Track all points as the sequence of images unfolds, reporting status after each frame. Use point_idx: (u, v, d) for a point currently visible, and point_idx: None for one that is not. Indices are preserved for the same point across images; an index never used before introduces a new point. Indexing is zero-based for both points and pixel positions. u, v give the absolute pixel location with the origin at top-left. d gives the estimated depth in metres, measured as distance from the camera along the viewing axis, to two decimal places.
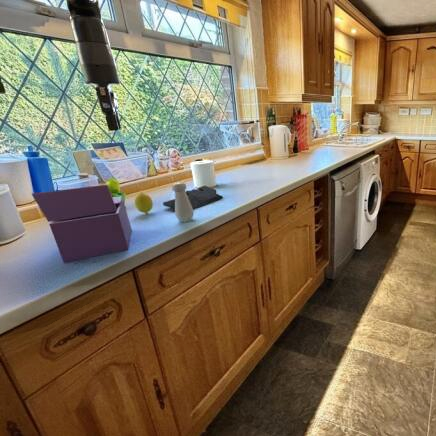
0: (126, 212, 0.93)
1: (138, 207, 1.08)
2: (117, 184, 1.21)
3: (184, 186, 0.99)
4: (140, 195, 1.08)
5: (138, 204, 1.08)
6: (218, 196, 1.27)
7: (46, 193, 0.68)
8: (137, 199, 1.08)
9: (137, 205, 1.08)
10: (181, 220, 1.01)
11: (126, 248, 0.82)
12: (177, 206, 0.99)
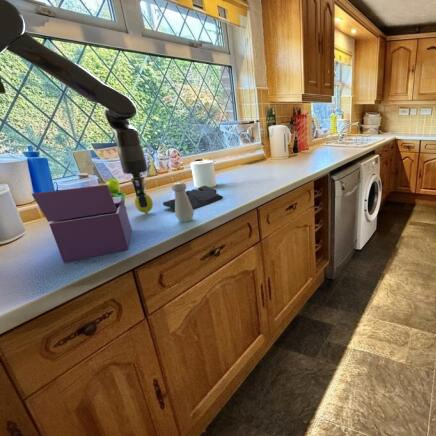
0: (126, 212, 0.93)
1: (138, 207, 1.08)
2: (117, 184, 1.21)
3: (184, 186, 0.99)
4: None
5: (138, 204, 1.08)
6: (218, 196, 1.27)
7: (46, 193, 0.68)
8: (137, 199, 1.08)
9: (137, 205, 1.08)
10: (181, 220, 1.01)
11: (126, 248, 0.82)
12: (177, 206, 0.99)
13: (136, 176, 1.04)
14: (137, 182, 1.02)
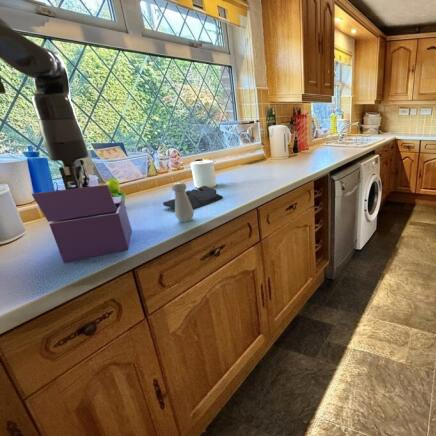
0: (126, 212, 0.93)
1: None
2: (117, 184, 1.21)
3: (184, 186, 0.99)
4: None
5: None
6: (218, 196, 1.27)
7: (46, 193, 0.68)
8: None
9: None
10: (181, 220, 1.01)
11: (126, 248, 0.82)
12: (177, 206, 0.99)
13: (68, 164, 0.72)
14: (66, 169, 0.69)
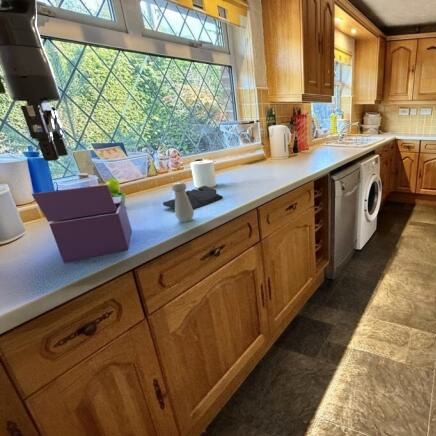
0: (126, 212, 0.93)
1: None
2: (117, 184, 1.21)
3: (184, 186, 0.99)
4: None
5: None
6: (218, 196, 1.27)
7: (46, 193, 0.68)
8: None
9: None
10: (181, 220, 1.01)
11: (126, 248, 0.82)
12: (177, 206, 0.99)
13: (34, 105, 0.58)
14: (30, 108, 0.56)
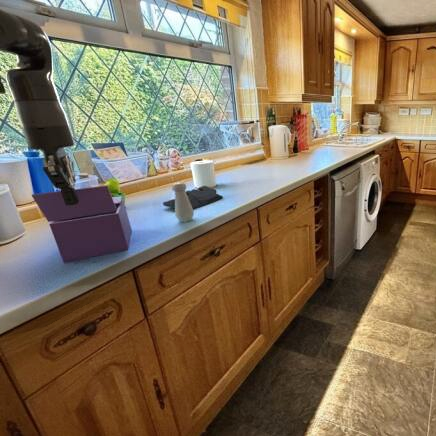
0: (126, 212, 0.93)
1: None
2: (117, 184, 1.21)
3: (184, 186, 0.99)
4: None
5: None
6: (218, 196, 1.27)
7: (46, 194, 0.67)
8: None
9: None
10: (181, 220, 1.01)
11: (126, 248, 0.82)
12: (177, 206, 0.99)
13: (50, 153, 0.61)
14: (52, 170, 0.61)
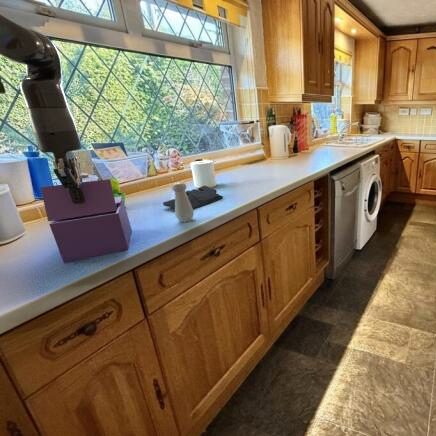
0: (126, 212, 0.93)
1: None
2: (117, 184, 1.21)
3: (184, 186, 0.99)
4: None
5: None
6: (218, 196, 1.27)
7: (53, 186, 0.73)
8: None
9: None
10: (181, 220, 1.01)
11: (126, 248, 0.82)
12: (177, 206, 0.99)
13: (59, 156, 0.67)
14: (62, 172, 0.66)
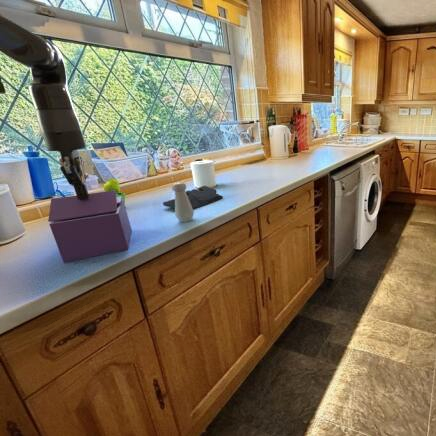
0: (126, 212, 0.93)
1: None
2: (117, 184, 1.21)
3: (184, 186, 0.99)
4: None
5: None
6: (218, 196, 1.27)
7: (63, 197, 0.78)
8: None
9: None
10: (181, 220, 1.01)
11: (126, 248, 0.82)
12: (177, 206, 0.99)
13: (66, 155, 0.71)
14: (68, 170, 0.71)
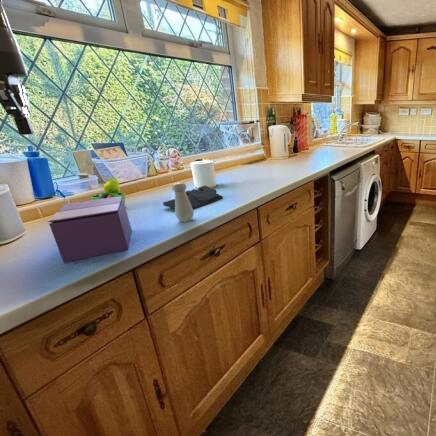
0: (126, 212, 0.93)
1: None
2: (117, 184, 1.21)
3: (184, 186, 0.99)
4: None
5: None
6: (218, 196, 1.27)
7: (68, 210, 0.80)
8: None
9: None
10: (181, 220, 1.01)
11: (126, 248, 0.82)
12: (177, 206, 0.99)
13: (1, 78, 0.64)
14: (3, 94, 0.63)
